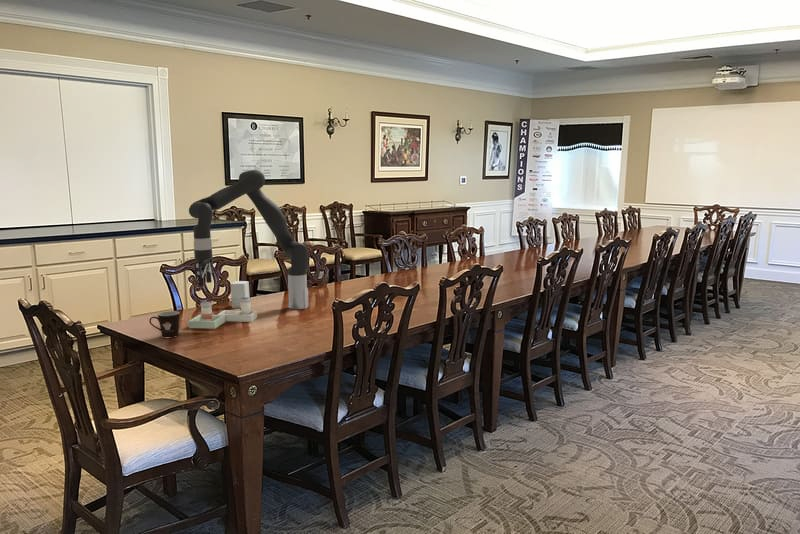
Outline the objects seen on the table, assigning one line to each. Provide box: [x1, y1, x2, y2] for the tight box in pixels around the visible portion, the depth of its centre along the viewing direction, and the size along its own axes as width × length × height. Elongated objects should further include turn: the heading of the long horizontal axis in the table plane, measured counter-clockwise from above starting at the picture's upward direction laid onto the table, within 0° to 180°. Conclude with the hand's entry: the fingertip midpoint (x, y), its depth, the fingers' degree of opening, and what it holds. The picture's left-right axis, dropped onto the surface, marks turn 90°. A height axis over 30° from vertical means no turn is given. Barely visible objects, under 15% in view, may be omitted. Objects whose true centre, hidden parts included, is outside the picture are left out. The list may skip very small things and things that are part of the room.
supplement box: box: [230, 280, 250, 309], centre depth 316 cm, size 7×7×13 cm
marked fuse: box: [200, 301, 213, 321], centre depth 276 cm, size 5×5×10 cm
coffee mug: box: [148, 310, 180, 337], centre depth 262 cm, size 12×9×10 cm
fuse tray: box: [187, 314, 226, 332], centre depth 277 cm, size 12×12×4 cm
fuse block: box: [216, 309, 258, 323], centre depth 287 cm, size 16×8×4 cm, turn 84°
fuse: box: [240, 296, 252, 315], centre depth 286 cm, size 5×5×10 cm
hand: (205, 284), depth 274 cm, fingers open, 8 cm apart
